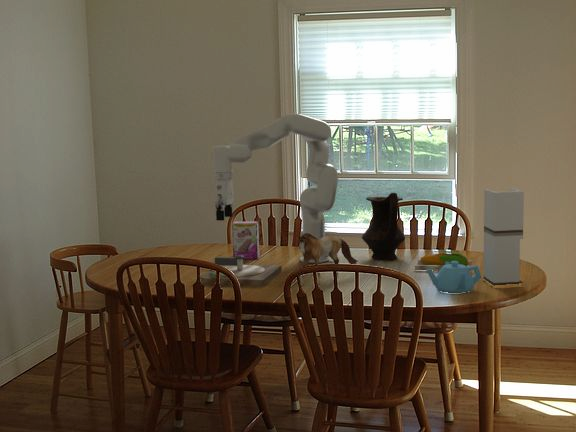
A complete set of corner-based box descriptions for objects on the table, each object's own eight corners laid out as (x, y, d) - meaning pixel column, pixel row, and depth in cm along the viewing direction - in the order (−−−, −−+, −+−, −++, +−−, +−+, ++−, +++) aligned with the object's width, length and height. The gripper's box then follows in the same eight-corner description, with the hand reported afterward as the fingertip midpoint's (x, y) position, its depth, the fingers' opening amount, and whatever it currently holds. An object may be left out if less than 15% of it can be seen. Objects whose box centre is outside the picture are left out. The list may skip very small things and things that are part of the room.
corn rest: (472, 266, 327) (472, 260, 327) (471, 272, 316) (471, 266, 316) (417, 264, 333) (417, 259, 333) (414, 271, 322) (414, 265, 321)
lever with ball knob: (245, 268, 321) (245, 255, 320) (242, 270, 317) (242, 257, 316) (217, 267, 324) (216, 254, 323) (214, 269, 320) (213, 256, 319)
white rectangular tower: (522, 287, 291) (523, 191, 286) (493, 288, 291) (494, 192, 285) (510, 279, 303) (512, 187, 297) (483, 281, 302) (484, 188, 296)
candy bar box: (233, 259, 355) (231, 223, 352) (234, 257, 360) (233, 221, 357) (258, 259, 353) (256, 222, 351) (259, 257, 358) (258, 221, 356)
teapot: (463, 298, 279) (463, 268, 277) (425, 292, 288) (425, 263, 287) (483, 289, 290) (483, 260, 289) (446, 283, 300) (446, 255, 298)
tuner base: (281, 271, 329) (281, 262, 328) (263, 286, 304) (263, 277, 303) (219, 269, 336) (219, 260, 335) (196, 284, 311) (196, 274, 310)
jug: (355, 257, 353) (354, 189, 348) (393, 253, 358) (393, 186, 354) (375, 266, 333) (374, 194, 328) (415, 262, 338) (415, 191, 334)
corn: (465, 253, 315) (416, 250, 325) (464, 273, 316) (416, 268, 326) (470, 251, 322) (423, 248, 332) (470, 270, 323) (422, 266, 332)
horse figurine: (303, 290, 297) (301, 235, 294) (288, 286, 303) (287, 233, 299) (359, 275, 318) (358, 224, 315) (344, 272, 323) (343, 222, 320)
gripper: (224, 178, 313) (226, 222, 316) (238, 174, 330) (240, 215, 332) (206, 178, 315) (208, 221, 318) (221, 174, 332) (223, 215, 334)
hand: (224, 218), depth 325 cm, fingers open, 9 cm apart
